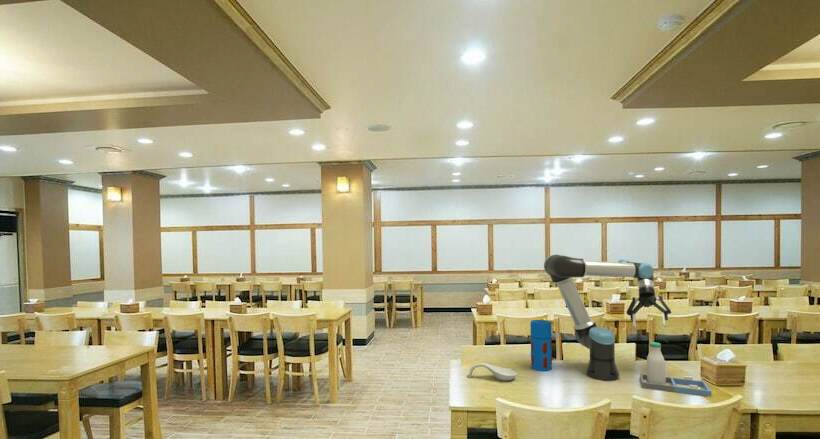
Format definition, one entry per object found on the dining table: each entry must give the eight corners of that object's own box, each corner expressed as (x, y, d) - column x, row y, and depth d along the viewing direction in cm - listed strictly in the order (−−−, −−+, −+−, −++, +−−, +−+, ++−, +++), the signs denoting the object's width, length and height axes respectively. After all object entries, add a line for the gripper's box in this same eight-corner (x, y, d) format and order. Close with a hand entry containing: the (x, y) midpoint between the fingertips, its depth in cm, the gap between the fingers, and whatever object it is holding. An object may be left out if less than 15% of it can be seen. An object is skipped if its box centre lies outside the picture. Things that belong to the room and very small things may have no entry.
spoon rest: (516, 376, 215) (515, 361, 216) (517, 384, 204) (517, 369, 204) (469, 373, 220) (469, 359, 220) (468, 381, 208) (468, 366, 208)
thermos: (554, 367, 228) (553, 321, 229) (549, 372, 219) (548, 324, 220) (534, 364, 234) (533, 319, 235) (528, 369, 225) (527, 322, 226)
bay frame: (642, 388, 197) (641, 379, 197) (639, 378, 210) (639, 370, 210) (711, 397, 186) (711, 387, 186) (704, 386, 198) (704, 378, 199)
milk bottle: (668, 388, 196) (667, 345, 197) (650, 387, 198) (649, 344, 199) (662, 383, 204) (661, 341, 205) (644, 381, 205) (643, 340, 206)
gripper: (674, 291, 220) (679, 329, 207) (623, 294, 234) (624, 330, 222) (672, 284, 215) (676, 321, 203) (619, 288, 230) (620, 323, 218)
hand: (649, 326), depth 212 cm, fingers open, 13 cm apart
